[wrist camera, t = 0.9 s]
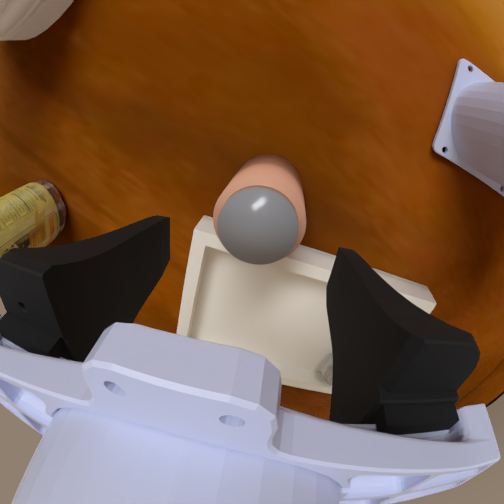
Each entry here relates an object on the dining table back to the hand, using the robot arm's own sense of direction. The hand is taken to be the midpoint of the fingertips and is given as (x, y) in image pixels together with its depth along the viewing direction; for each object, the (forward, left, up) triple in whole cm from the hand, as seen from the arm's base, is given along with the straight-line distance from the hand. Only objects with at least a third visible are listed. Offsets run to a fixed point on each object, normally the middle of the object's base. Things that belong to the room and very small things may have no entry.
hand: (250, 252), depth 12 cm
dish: (-6, +11, -9) cm, 15 cm away
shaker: (0, 0, -9) cm, 9 cm away
